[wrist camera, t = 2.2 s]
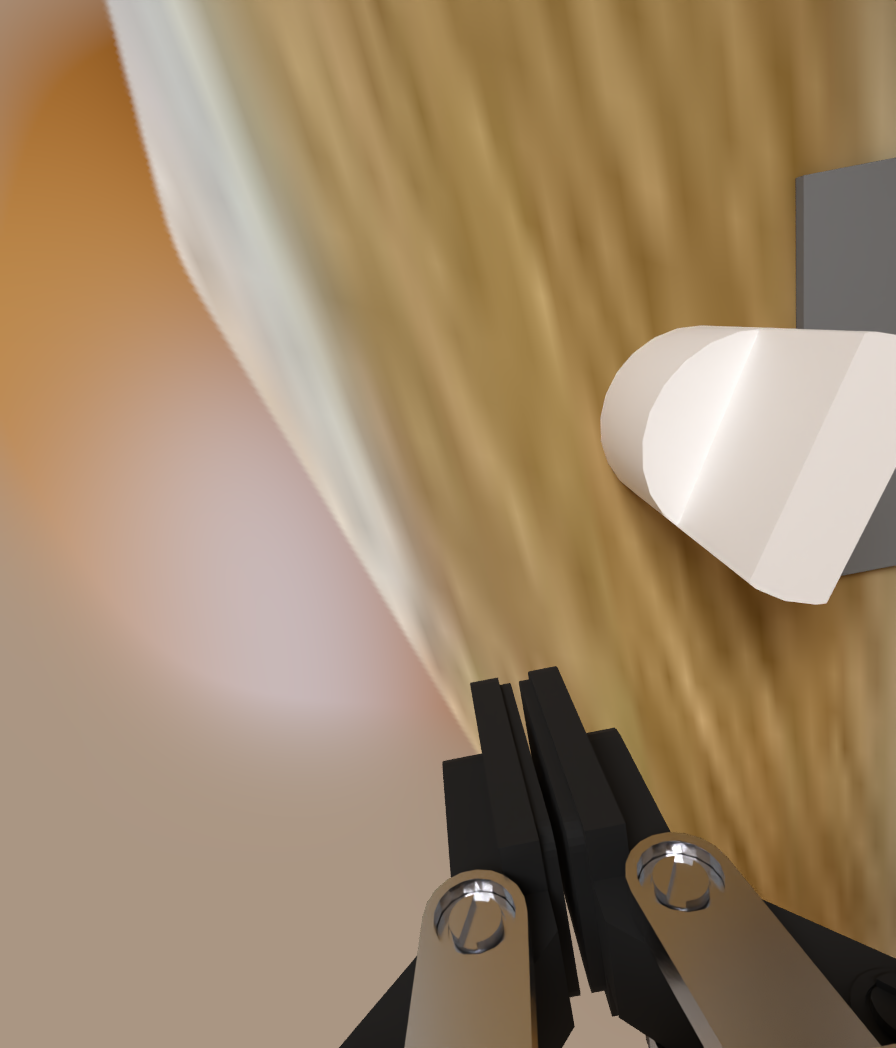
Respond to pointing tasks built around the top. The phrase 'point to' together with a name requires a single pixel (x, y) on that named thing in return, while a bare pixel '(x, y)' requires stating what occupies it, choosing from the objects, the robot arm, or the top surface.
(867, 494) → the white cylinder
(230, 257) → the top surface
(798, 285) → the mat
